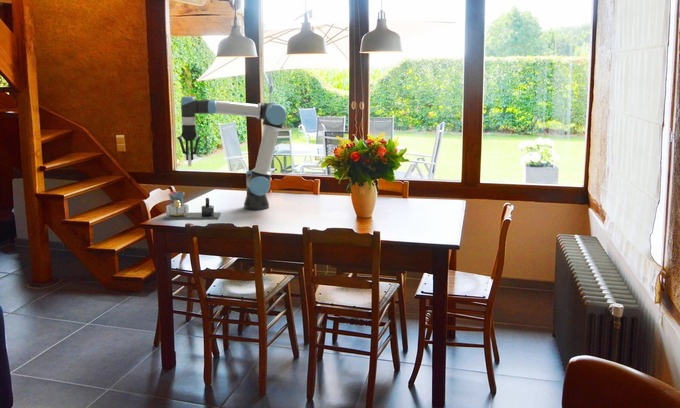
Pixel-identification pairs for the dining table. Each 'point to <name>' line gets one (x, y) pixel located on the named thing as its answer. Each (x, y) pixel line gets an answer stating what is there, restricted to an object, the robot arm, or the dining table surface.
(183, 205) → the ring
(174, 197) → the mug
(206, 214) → the grey peg stand
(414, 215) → the dining table surface
